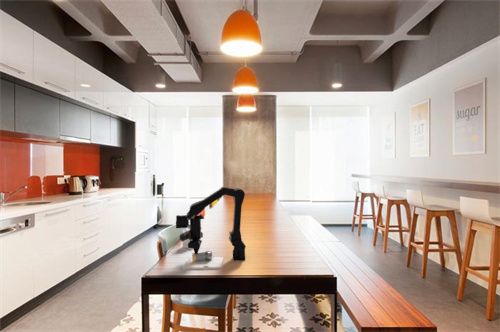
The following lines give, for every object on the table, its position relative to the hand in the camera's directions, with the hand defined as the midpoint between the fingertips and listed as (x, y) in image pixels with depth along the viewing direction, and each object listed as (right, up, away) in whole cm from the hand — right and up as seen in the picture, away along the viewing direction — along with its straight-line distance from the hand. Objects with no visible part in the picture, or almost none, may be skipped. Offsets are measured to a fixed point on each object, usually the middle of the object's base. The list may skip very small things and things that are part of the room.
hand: (196, 254), depth 156 cm
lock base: (+5, -4, -3) cm, 7 cm away
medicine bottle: (-9, -3, +26) cm, 28 cm away
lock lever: (+4, -3, -1) cm, 5 cm away
